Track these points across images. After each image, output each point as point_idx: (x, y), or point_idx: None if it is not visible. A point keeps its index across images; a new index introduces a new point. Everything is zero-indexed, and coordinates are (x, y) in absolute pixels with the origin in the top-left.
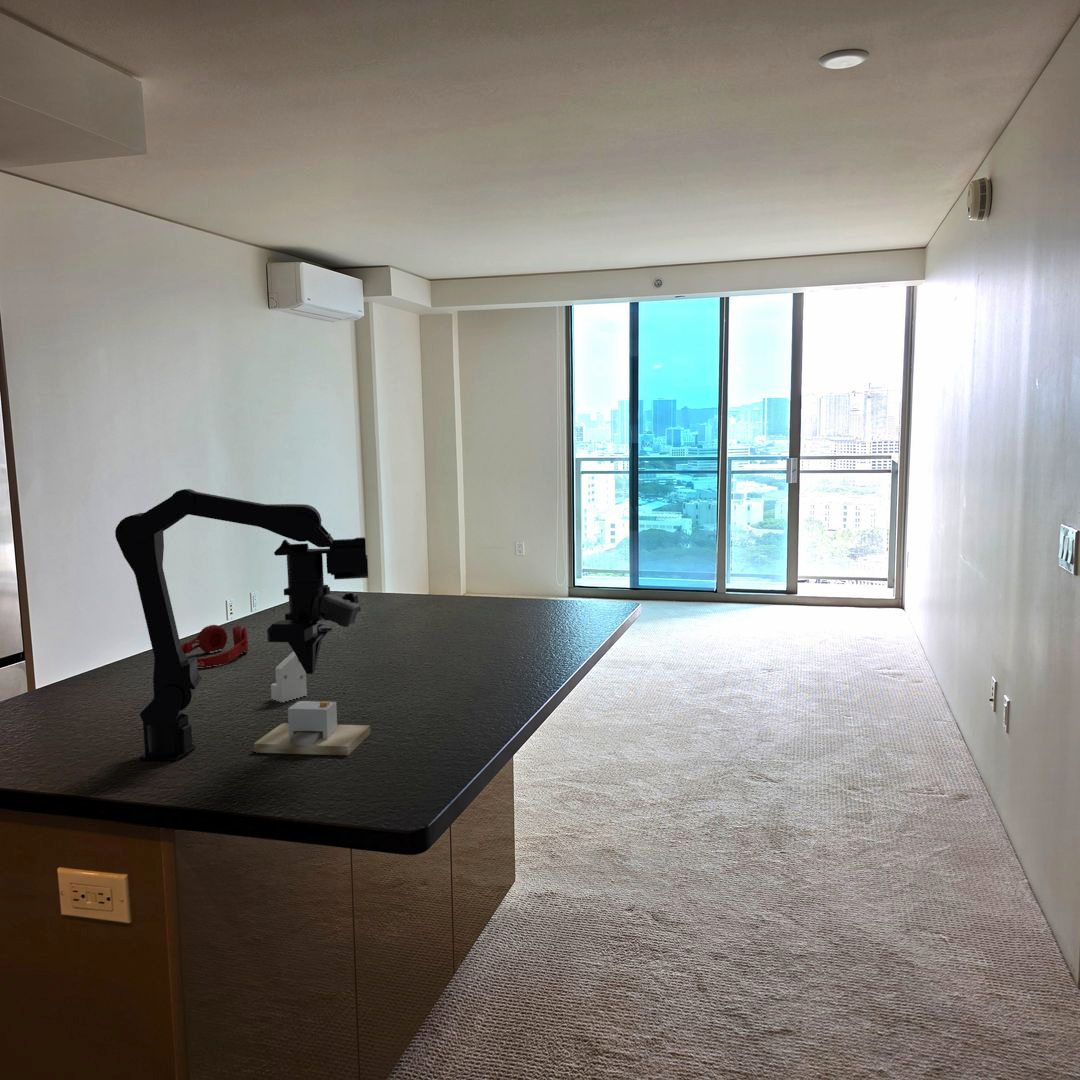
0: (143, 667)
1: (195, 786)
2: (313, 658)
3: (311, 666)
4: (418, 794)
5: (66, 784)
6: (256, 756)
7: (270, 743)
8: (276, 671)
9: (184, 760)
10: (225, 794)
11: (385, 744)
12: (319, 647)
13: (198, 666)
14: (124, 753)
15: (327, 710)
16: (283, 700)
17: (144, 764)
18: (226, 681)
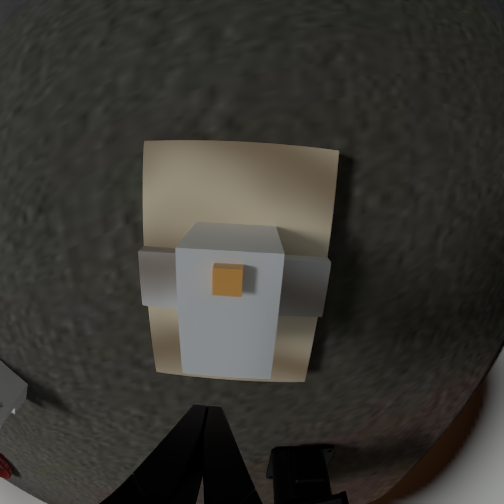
0: (28, 486)
1: (445, 374)
2: (233, 471)
3: (231, 437)
4: (491, 17)
5: (387, 478)
6: (325, 357)
7: (306, 352)
8: (3, 422)
9: (329, 438)
10: (484, 319)
11: (239, 74)
12: (123, 501)
13: (2, 458)
14: None
15: (273, 250)
16: (24, 384)
17: (338, 462)
18: (10, 441)
